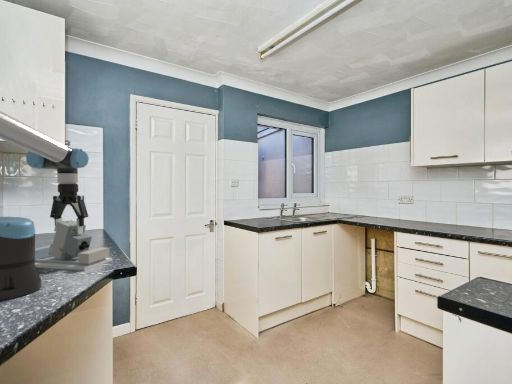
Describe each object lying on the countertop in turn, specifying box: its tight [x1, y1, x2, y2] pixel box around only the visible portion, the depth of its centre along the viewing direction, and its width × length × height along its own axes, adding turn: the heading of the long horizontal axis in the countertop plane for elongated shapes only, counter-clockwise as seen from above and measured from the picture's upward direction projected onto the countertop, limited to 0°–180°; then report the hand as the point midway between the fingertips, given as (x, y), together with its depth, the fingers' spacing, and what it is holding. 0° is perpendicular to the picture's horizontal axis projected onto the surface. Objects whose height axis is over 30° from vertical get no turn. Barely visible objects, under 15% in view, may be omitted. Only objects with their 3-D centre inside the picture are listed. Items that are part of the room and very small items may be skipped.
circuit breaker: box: [48, 219, 93, 261], centre depth 122 cm, size 8×14×15 cm, turn 79°
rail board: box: [35, 244, 113, 272], centre depth 123 cm, size 16×32×6 cm, turn 79°
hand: (69, 233), depth 123 cm, fingers open, 10 cm apart
